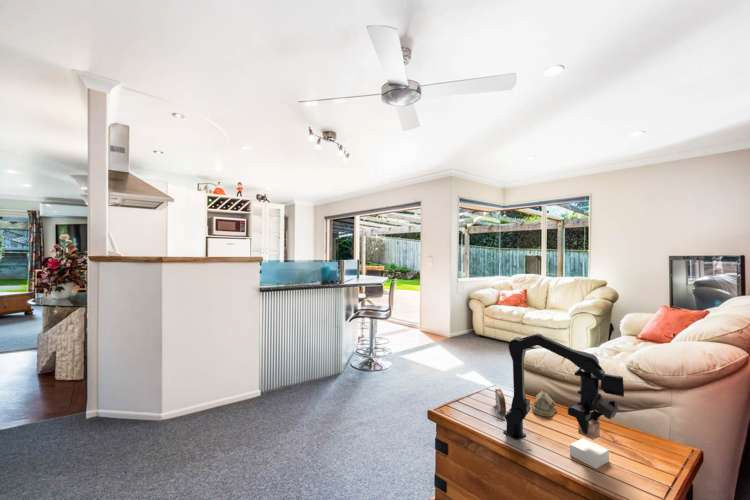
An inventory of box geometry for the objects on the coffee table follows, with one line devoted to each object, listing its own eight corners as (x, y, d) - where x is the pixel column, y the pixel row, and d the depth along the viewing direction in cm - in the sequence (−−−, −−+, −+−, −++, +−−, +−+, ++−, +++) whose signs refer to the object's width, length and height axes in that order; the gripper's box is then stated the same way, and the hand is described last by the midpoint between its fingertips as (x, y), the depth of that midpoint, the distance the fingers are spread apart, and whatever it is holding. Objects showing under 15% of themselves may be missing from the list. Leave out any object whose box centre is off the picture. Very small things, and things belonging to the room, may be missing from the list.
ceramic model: (532, 402, 167) (532, 383, 167) (557, 408, 161) (557, 387, 161) (529, 413, 155) (529, 392, 155) (556, 419, 149) (556, 397, 149)
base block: (596, 468, 114) (596, 457, 114) (569, 455, 121) (570, 444, 121) (608, 461, 118) (608, 449, 118) (582, 448, 126) (582, 438, 126)
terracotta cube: (592, 439, 117) (593, 425, 117) (578, 433, 121) (578, 419, 121) (599, 436, 119) (600, 422, 119) (585, 430, 123) (585, 416, 124)
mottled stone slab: (506, 417, 150) (506, 398, 150) (499, 416, 151) (499, 398, 151) (500, 403, 165) (500, 386, 165) (494, 402, 165) (494, 386, 166)
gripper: (600, 403, 109) (600, 450, 108) (626, 392, 118) (626, 436, 118) (566, 391, 118) (566, 434, 118) (593, 382, 128) (592, 422, 128)
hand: (589, 432), depth 120 cm, fingers closed on terracotta cube, 5 cm apart
